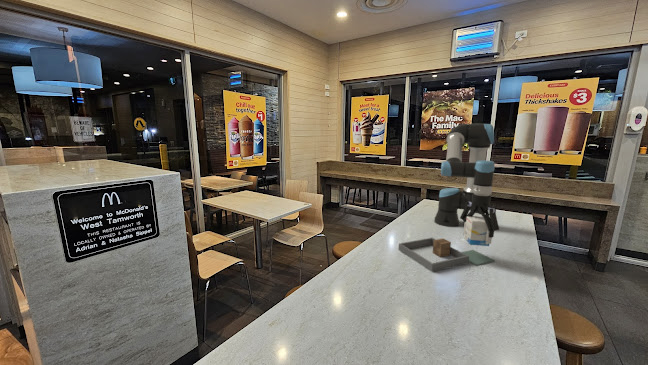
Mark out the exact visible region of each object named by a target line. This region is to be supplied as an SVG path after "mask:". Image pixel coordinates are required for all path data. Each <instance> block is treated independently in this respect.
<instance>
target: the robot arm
mask: <svg viewBox="0 0 648 365" xmlns="http://www.w3.org/2000/svg"><path fill="white" fill-rule="evenodd" d="M494 130H495V129H494V126H493V124H491V123H462V124H458V125H457V126H455V127H453V128H452V129H451V130H450V131H449V132H448V133H447V136H446V139H445V140H446V144H447V150H446V159H445V161H442V162H441V165H440V175H441V176H444V177H453V178H454V177H456V178H466V186H465V187H464V188H463V190H462V191H461V190H460V189H459V188H456V187H446V188H442V189H441V190H439V195H438V206H437V207H438V208H437V212H436V214H435V216H434V219H433V220H434V223H435V224H437V225H440V226H444V227H459V225H460V220H462V221H463V223H462V224H463V225H462V227H463V235H464V236H465V228H466V219H467V216H468V217H470V216H475V214H478V215H481V217H483V218H484V220H485V222H486V224H487V227H488V229H489V230H487V234H486V243H485V244H489V245H490V244H492V238H494V237H495V236H494V235H495V231H499V230H500V228H499V227H500V226H499V222H498V218H497V213H496V212H497V209H496V208H495V207H490V204H491V199H492V196H491V195H492V191H493V190H492V189H493V181H494V174H495V171H496V170H495V168H496V167H495V164H496V163H495V162H494V161H493V160H486V158H487V153H488V152H487V151H488V149H490V148H491V145H494V143H495V131H494ZM463 144H467V147H468V149H469V150H470V151H469V161H467V162H466V161H462V160H463ZM458 210H462V213H461V215H460V217H459V215H458Z"/></svg>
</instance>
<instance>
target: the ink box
mask: <svg viewBox="0 0 648 365" xmlns="http://www.w3.org/2000/svg"><path fill="white" fill-rule="evenodd" d="M487 230H489V229H488V227H487V224H486V222H485V220H484V218H483V217H482V216H476V215H473V216H470V217H468V216H467V219H466V228H465V235H464V239H465V240H466V242H467V243H468V244H469V245H470V246H480V247H481V246H482V247H489V246H490V244H485V243H486V234H487Z"/></svg>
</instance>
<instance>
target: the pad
mask: <svg viewBox="0 0 648 365" xmlns="http://www.w3.org/2000/svg"><path fill="white" fill-rule="evenodd" d="M461 252H462V253H464V254H466V255H468V256H469V262H468V263H470V264H472V265H474V266H476V267H477V266H480V265H485V264H489V263H494V262H496V259H493V258H492V257H489V256H487V255H485V254H482V253H480V252H478V251H477V250H475V249H471V250H465V251H461Z"/></svg>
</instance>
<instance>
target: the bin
mask: <svg viewBox="0 0 648 365" xmlns="http://www.w3.org/2000/svg"><path fill="white" fill-rule="evenodd" d="M434 240H437V239H436V238H434V237H428V238H421V239H416V240H412V241H406V242H400V243H398V251H400V252H401V253H402V254H404V255H405V256H407V257H408V258H410V259H412V260H413V261H415V262H416V263H418V264H419V265H421V266H423V267H424V268H425V269H426V270H428V271H430V272H432V273H433V272H437V271H441V270H445V269H450V268H453V267H458V266H461V265H467V264H469V263H470V262H469V256H468V255H466V254H464V253H462V252H463V251H459V250H458V249H455V248H454V247H451V246H450V255H451V256H453V257H454V258H451V259H445V260H441V261H436V262H431V261H430V260H429V259H427V258H424V257H423V256H422V255H420V254H418V253H417V252H415V251H414V250H412V249H414V248H420V247H425V246H426V247H427V246H430V245H432V246H433V243H434ZM450 255H449V256H450Z"/></svg>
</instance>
